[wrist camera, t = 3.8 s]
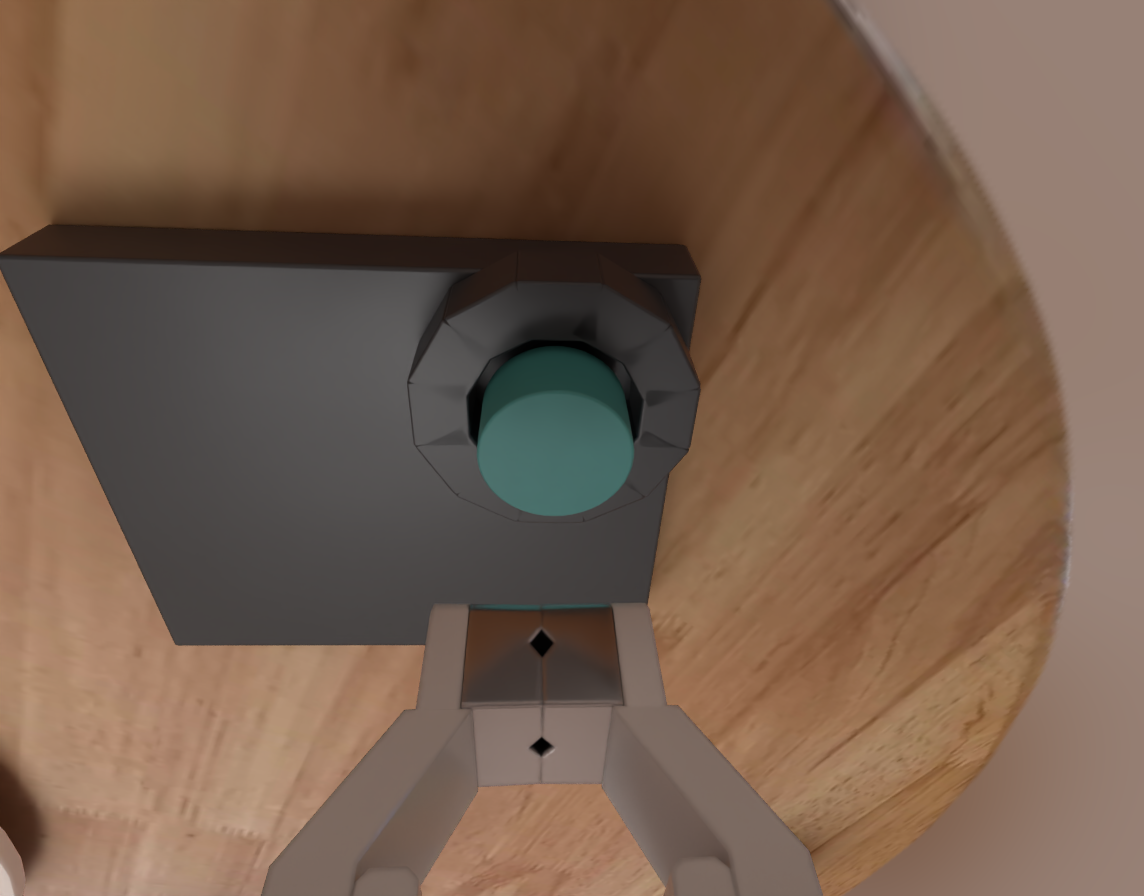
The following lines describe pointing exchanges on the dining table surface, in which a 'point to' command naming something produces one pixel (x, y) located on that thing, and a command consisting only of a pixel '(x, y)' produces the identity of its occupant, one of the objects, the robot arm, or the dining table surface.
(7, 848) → the plate
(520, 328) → the dark grey flat block
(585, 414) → the button
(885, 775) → the dining table surface
